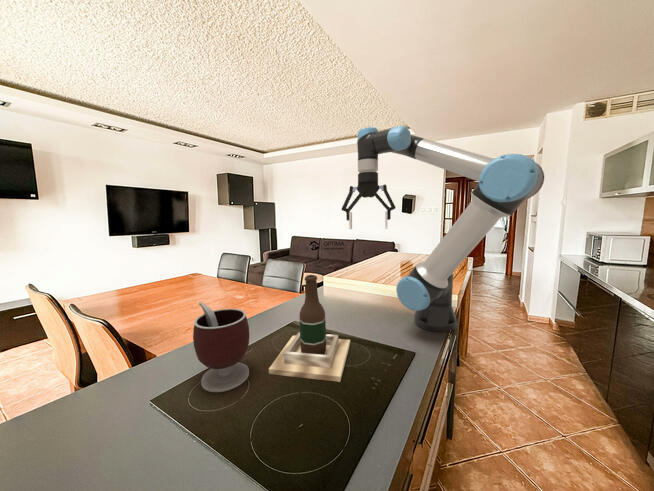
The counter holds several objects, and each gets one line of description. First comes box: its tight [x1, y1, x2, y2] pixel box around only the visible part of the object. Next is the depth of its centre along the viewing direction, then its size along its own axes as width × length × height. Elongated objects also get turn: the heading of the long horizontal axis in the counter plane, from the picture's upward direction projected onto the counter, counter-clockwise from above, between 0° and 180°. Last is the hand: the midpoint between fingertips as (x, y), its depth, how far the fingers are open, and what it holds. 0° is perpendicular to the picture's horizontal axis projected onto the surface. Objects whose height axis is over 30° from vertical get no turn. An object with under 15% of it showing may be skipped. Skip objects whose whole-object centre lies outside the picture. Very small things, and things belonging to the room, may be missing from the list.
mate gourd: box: [192, 301, 250, 393], centre depth 72 cm, size 16×14×20 cm
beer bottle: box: [299, 274, 327, 355], centre depth 80 cm, size 8×8×24 cm
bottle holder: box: [268, 331, 351, 383], centre depth 81 cm, size 20×20×4 cm
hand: (368, 228), depth 103 cm, fingers open, 13 cm apart
